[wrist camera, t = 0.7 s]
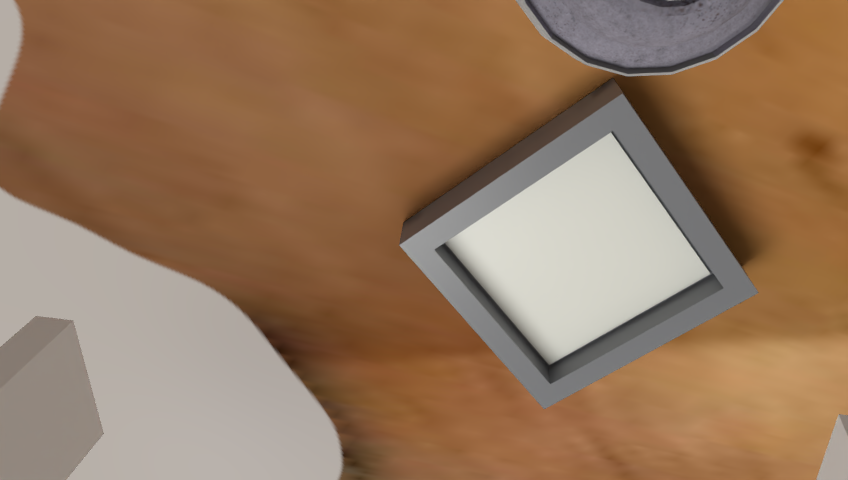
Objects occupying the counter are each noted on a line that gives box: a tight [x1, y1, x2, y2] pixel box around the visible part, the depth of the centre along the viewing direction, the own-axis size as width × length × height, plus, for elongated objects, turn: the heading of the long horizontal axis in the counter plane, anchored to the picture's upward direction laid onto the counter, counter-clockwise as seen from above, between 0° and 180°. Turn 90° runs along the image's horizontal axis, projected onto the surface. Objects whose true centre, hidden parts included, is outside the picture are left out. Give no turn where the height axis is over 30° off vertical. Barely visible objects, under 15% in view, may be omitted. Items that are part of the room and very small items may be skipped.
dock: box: [399, 78, 758, 409], centre depth 37 cm, size 12×12×2 cm
